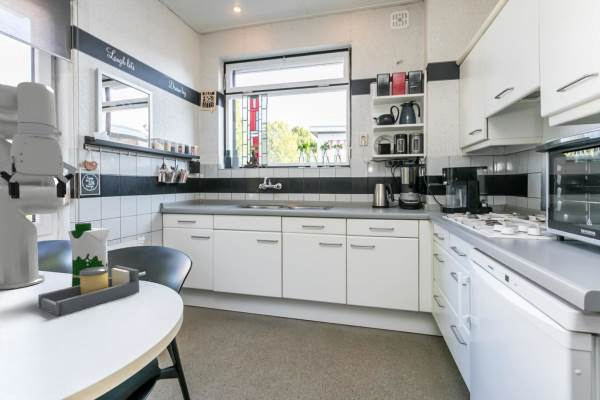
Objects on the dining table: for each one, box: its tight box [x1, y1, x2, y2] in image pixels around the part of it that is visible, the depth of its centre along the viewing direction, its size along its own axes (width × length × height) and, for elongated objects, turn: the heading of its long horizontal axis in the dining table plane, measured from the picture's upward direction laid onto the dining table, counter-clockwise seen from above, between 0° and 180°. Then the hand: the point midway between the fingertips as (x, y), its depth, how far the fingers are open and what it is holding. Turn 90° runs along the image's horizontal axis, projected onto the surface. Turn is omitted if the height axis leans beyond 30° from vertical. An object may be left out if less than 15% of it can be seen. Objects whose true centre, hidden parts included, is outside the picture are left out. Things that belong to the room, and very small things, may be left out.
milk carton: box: [67, 222, 111, 287], centre depth 95 cm, size 9×9×20 cm
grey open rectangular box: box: [38, 265, 140, 317], centre depth 85 cm, size 11×20×6 cm, turn 149°
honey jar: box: [80, 266, 109, 295], centre depth 85 cm, size 7×7×8 cm
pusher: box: [111, 267, 146, 287], centre depth 94 cm, size 8×8×6 cm
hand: (39, 198), depth 81 cm, fingers open, 9 cm apart
